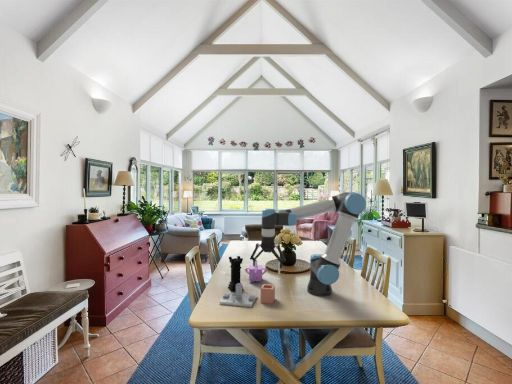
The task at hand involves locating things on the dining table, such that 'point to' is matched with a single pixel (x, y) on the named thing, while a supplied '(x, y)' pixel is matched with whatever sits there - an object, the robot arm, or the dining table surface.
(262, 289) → the box
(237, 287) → the stand
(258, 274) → the teapot
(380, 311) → the dining table surface
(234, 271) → the chess piece
